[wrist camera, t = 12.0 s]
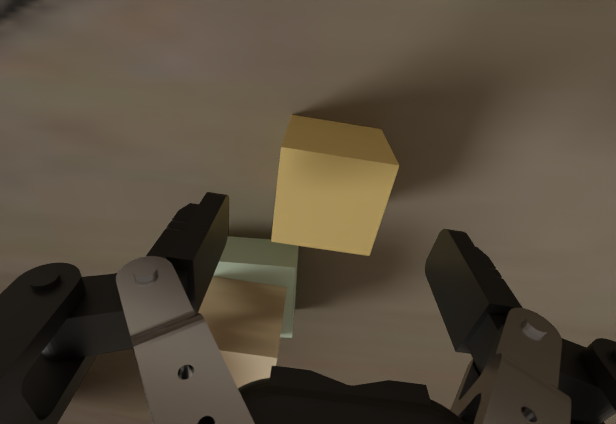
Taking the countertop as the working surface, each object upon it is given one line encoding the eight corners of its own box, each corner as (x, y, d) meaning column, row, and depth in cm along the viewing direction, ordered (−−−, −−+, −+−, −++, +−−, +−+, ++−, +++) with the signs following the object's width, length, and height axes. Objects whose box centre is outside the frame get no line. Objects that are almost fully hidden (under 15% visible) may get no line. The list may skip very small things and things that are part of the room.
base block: (299, 238, 22) (295, 267, 19) (295, 306, 26) (291, 338, 23) (200, 230, 22) (184, 258, 20) (210, 299, 26) (198, 330, 23)
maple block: (287, 287, 20) (277, 358, 16) (279, 334, 23) (268, 406, 19) (210, 275, 20) (180, 344, 16) (211, 325, 23) (185, 395, 19)
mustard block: (381, 128, 17) (399, 165, 13) (360, 204, 20) (369, 256, 16) (291, 114, 17) (281, 147, 13) (282, 193, 20) (271, 241, 16)
